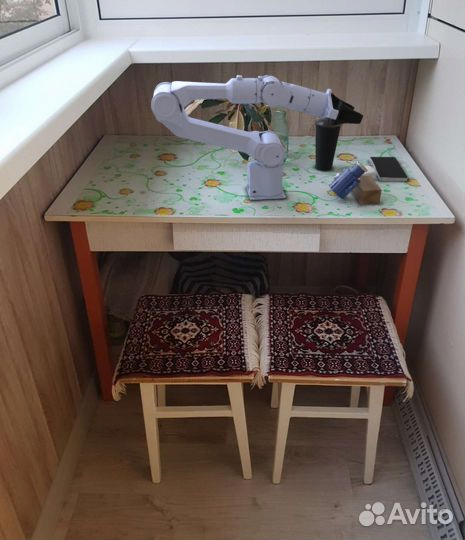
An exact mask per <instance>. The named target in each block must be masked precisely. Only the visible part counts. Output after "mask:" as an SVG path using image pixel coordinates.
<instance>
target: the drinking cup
mask: <svg viewBox="0 0 465 540" xmlns="http://www.w3.org/2000/svg"><path fill="white" fill-rule="evenodd" d="M330 122H331V118H324V119H320V118H317V119H316V120H315V121H314V125H315V137H314V138H315V139H314V140H315V143H314V144H315V145H314V146H315V150H314V151H315V155H314V157H315V159H314V160H315V161H314V162H315V164H314V165H315V169H316V170H318V171H321V172H328V171H329V172H330V171H331V170H332V169H333V164H334V160H335V155H336V152H337V146H338V141H339V136H340V132H341V127H342V126H343V124H339V125H336V126H334V125H331V124H330Z"/></svg>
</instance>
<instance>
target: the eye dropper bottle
mask: <svg viewBox="0 0 465 540" xmlns="http://www.w3.org/2000/svg"><path fill="white" fill-rule="evenodd" d="M363 166H364V167H365V168H366V169H367V170H368V171H367V172H365V173H364V174H363V175H362V176H371V177H372V178H373V180H375V179H376V177H377V175H376V171H375V169H374V168H373V167H372V165H367V164H366V165H365V164H364V165H363ZM348 168H349V169H351V168H352V167H348ZM345 169H346V168H344V169H343V170H342V172H343V171H344V170H345ZM342 172H337V173H336V174H335V176H333V177H332V180H333V181H334V180H335V179H336V178H337V177H338V176H339V175H340V174H341V173H342Z"/></svg>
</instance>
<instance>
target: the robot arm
mask: <svg viewBox="0 0 465 540" xmlns="http://www.w3.org/2000/svg"><path fill="white" fill-rule="evenodd" d="M218 99H221V100H222V99H226V100H227V101H229V103H230V104H233V105H234V104H237V105H239V104H243V105H244V104H245V105H247V104H249V105H251V104H252V105H253V104H255V105H256V104H260V103H263V104H265V105H266V106H267V107H268V108H276V107H281V108H285V109H288V110H291V111H294V112H299V113H301V114H306V115H309V116H313V117H316V118H317V119H324V118H331V122H330V124H331V125H334V126H336V125H339V124H342V125H344V124H345V125H346V124H348V125H350V124H353V125H361V123H362V121H363V118H364V115H363V114H362V113H361V112H358V111H356V110H355V106H354V105H352V104H350V103H348V102H347V101H345V100H342V99H341V98H339V97H337V96H336V95H335V94H334V92H333V90H332V89H331V88H327V89H326V91H325V92H323V91H319V90H315V89H312V88H309V87H305V86H302V85H298V84H294V83H289V82H285V81H280V80H279V79H278V78H277V77H276V76H274V75H269V74H265V75H263V76H262V75H258V76H257V77H243V75H241V74H240V75H239V74H237V75H236V77H231V78H230V79H229V80H228V81H227V82H226V83H220V82H218V83H217V82H199V81H198V82H197V81H196V82H195V81H180V80H177V81H176V80H175V81H172V82H169V81H164V82H160V83H158V84H157V85H156V87H155V88H154V90H153V97H152V98H151V101H150V109H151V111H152V113H153V115H154V117H155V119H156V121H157V122H159V123H161V124H162V125H163V126H164V127H166V128H167V129H168V130H169V131H170V132H171V133H172V134H173V135H174V136H175V137H178V138H182V139H186V140H190V141H194V142H198V143H203V144H207V145H211V146H216V147H219V148H223V149H227V150H230V151H231V150H232V151H236V152H240V153H244V154H246V155H248V156H249V157H250V158H252V159H253V160H254V161H249V162H247V164H246V166H247V167H246V191H247V194H248V196H249V197H248V198H249V200H250V201H257V200H259V201H260V200H278V199H279V200H281V199H286V198H287V196H286V194H285V193H286V192H285V191H284V189H283V184H284V183H283V181H284V164H285V163H284V161H285V160H284V159H285V156H286V151H285V148H284V146H283V145H282V142H281V138H280V136H279V134H278V133H277V132H275V131H273V130H265V131H264V130H263V131H259V130H252V131H246V130H242V129H239V128H234V127H230V126H226V125H223V124H218V123H214V122H210V121H206V120H203V119H198V118H195V117H194V118H193V117H190V116H189V115H188V113H187V111H186V110H185V107H187V106H188V105H190V103H191V102H193V101H199V100H218Z"/></svg>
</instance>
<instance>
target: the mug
mask: <svg viewBox="0 0 465 540" xmlns="http://www.w3.org/2000/svg"><path fill="white" fill-rule="evenodd" d="M364 166H365V165H363V164H362V163H361V162H360V161H359V160H356V161H355V164H354V165H353V166H352V167H348V166H346V167H345V168H344V169H345V170H344V169H343V170H344V171H343V170H342V172H340V173H341V174H340V175H339V176H338V177H337V178H336V179H335V180H334V179H333V180H332V181H331V183H330V184H329V185H328V188H329V189H330V190H331V191H332V192H333V193H334V195H336V196H337V197H338V198H340V199H341V200H345V198H346V197H348V195H349V194H350V193H352V192H351V191H352V190H353V189H354V188H355V187H356V186H357V185H358V184H359V183H360V182H361V179H360V177H361V176H362V175H363V174H364V173H365V172H367V171H368V170H367V169H366V168H365V167H364ZM349 168H351V169H349Z"/></svg>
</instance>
